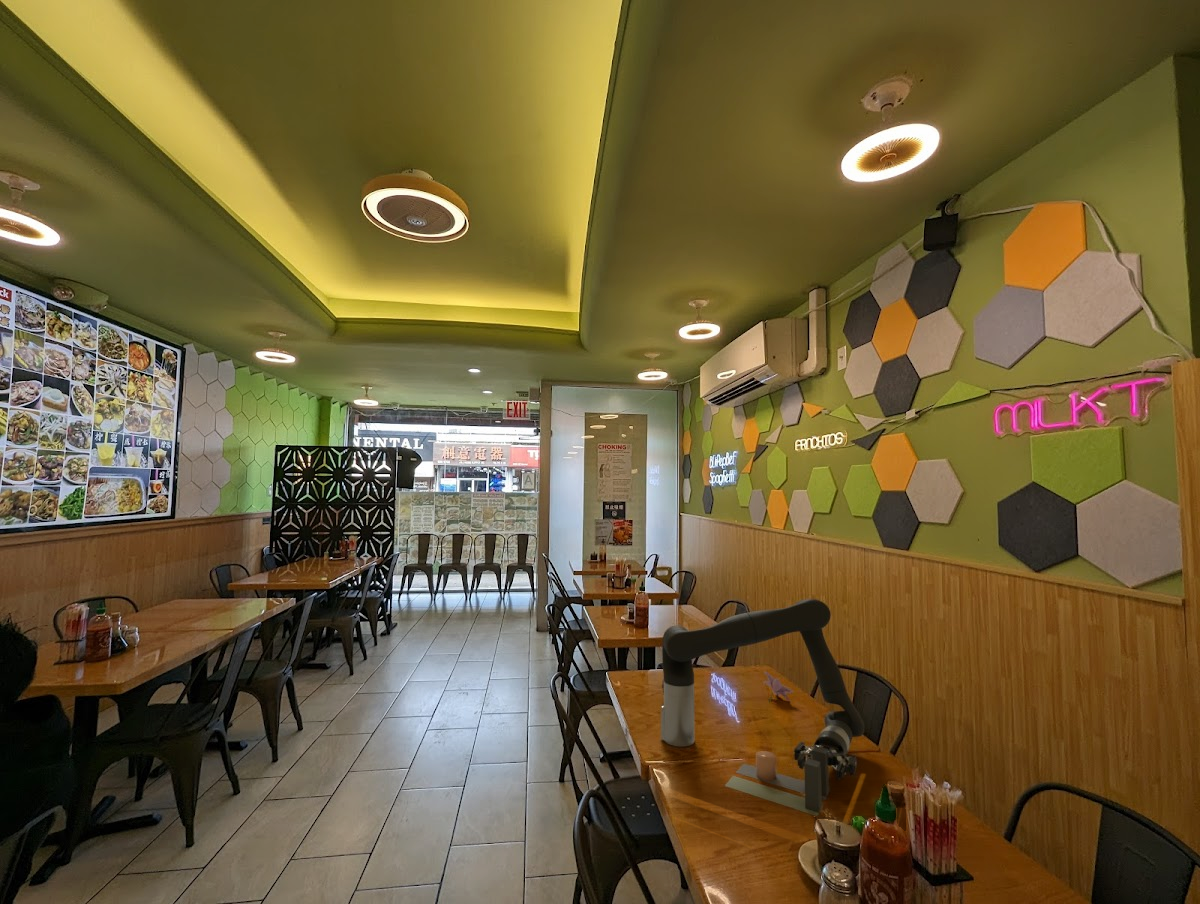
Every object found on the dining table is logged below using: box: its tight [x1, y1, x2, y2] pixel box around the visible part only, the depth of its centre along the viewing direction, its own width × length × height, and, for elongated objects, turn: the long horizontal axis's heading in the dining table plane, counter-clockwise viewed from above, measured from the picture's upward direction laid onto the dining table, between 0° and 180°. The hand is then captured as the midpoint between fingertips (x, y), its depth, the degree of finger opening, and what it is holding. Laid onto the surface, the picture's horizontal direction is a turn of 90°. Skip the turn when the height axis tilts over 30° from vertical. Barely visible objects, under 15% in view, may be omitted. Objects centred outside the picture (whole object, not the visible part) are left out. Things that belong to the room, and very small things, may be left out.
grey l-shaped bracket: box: [735, 746, 831, 801], centre depth 137 cm, size 22×6×11 cm, turn 56°
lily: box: [762, 670, 795, 703], centre depth 195 cm, size 12×12×10 cm
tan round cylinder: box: [755, 750, 777, 781], centre depth 139 cm, size 5×5×5 cm
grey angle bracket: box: [724, 757, 824, 817], centre depth 130 cm, size 22×6×11 cm, turn 56°
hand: (818, 769), depth 130 cm, fingers open, 8 cm apart
